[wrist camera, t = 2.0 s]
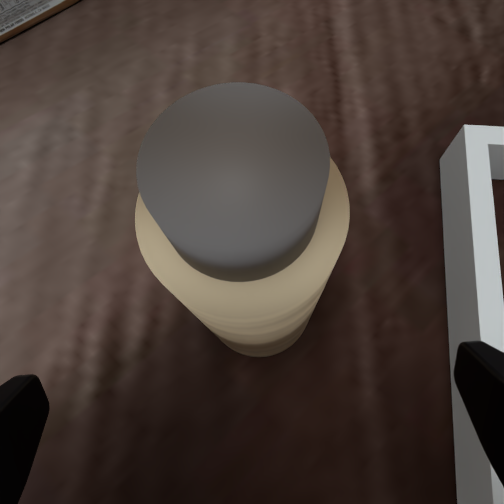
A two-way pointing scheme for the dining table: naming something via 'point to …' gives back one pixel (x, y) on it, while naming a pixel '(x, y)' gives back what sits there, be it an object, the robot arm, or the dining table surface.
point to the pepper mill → (241, 212)
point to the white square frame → (472, 285)
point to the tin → (27, 14)
